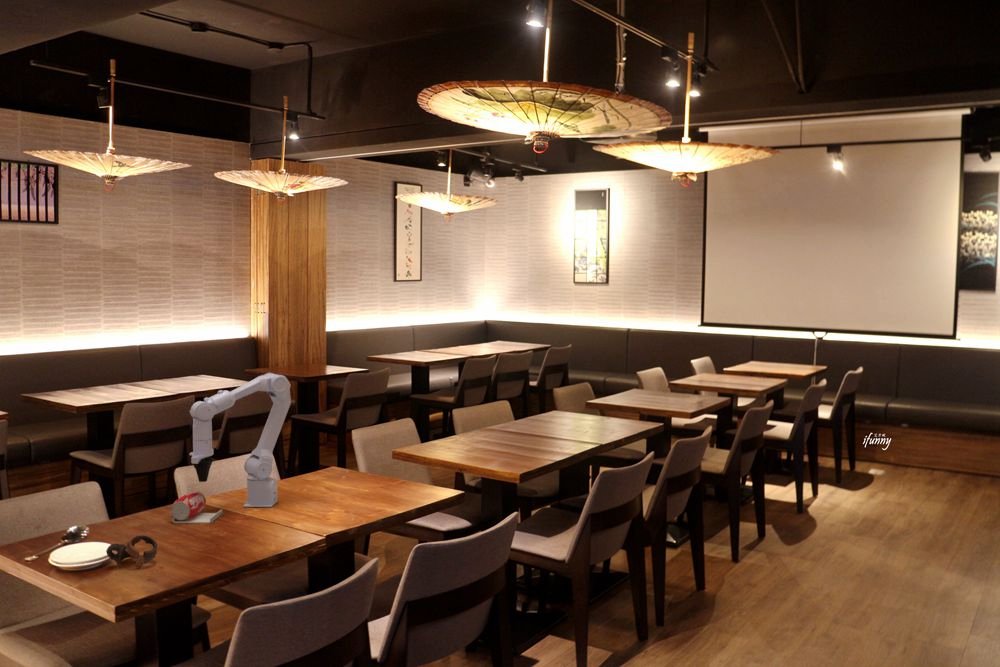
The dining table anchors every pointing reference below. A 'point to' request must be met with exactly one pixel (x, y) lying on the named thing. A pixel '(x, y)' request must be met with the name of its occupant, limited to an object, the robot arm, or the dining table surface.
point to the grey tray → (200, 518)
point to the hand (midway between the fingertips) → (203, 481)
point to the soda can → (188, 505)
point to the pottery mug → (133, 550)
